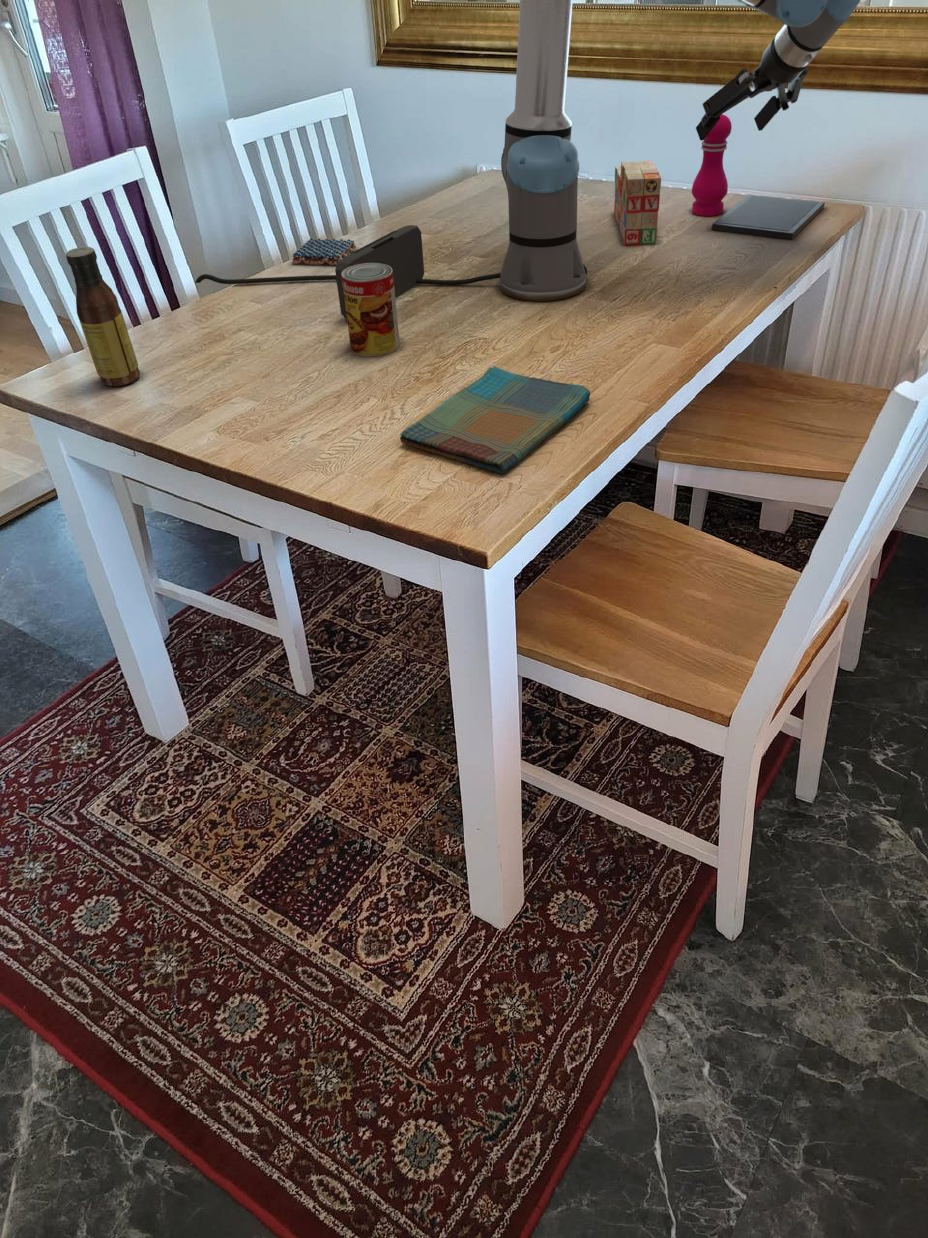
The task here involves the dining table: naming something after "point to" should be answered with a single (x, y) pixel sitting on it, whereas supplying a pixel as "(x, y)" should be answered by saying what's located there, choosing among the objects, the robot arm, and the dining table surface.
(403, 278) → the handheld gaming console
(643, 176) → the stack of blocks
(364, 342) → the canned food
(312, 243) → the woven mat
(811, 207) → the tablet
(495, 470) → the dish towel
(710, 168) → the pepper mill
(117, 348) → the sauce bottle
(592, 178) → the dining table surface
